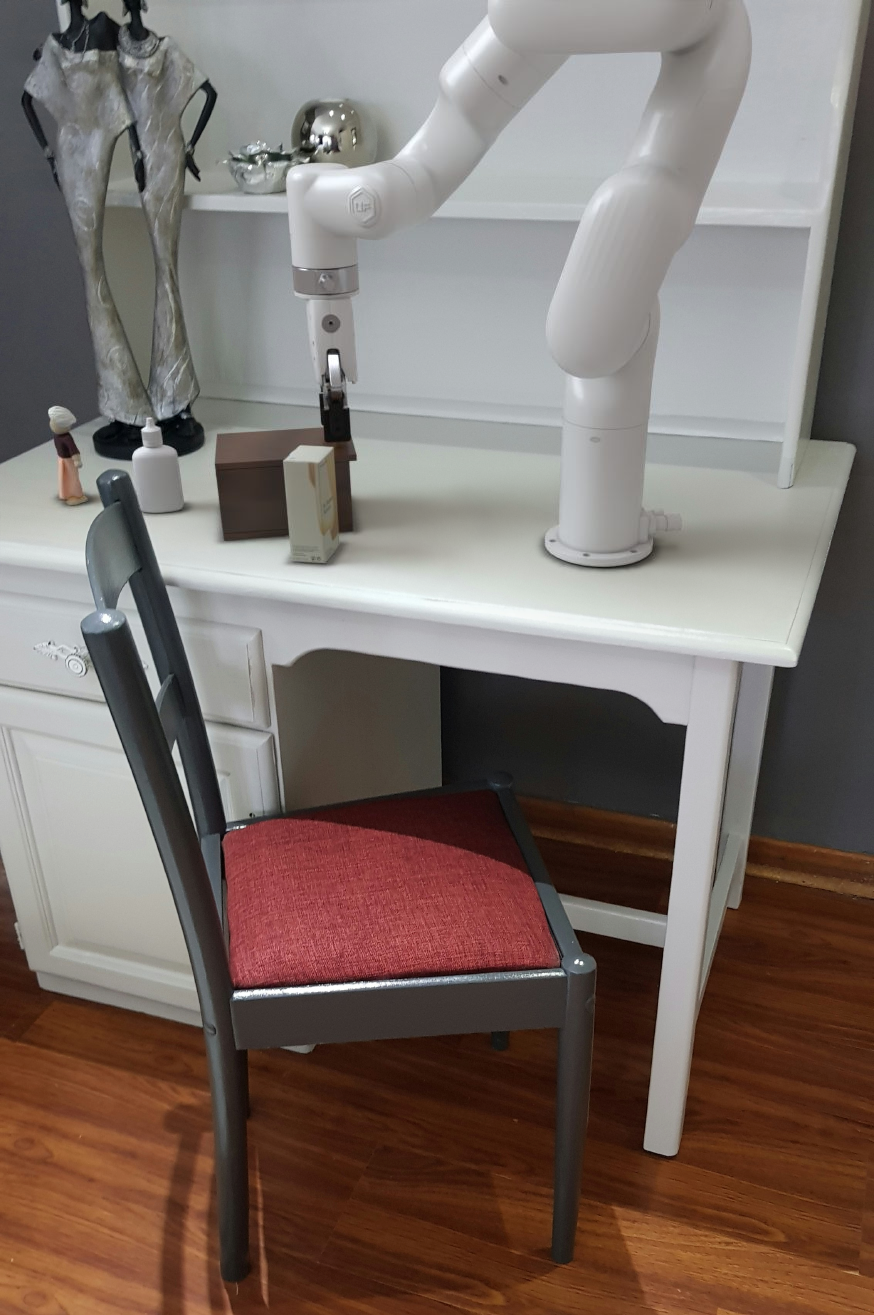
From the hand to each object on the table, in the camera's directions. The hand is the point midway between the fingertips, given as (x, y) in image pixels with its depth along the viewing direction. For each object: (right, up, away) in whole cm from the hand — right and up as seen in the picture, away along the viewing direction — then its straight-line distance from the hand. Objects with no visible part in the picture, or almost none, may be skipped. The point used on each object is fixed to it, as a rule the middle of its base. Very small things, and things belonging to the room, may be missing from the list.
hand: (335, 431), depth 137 cm
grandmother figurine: (-36, -7, +12) cm, 38 cm away
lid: (-6, -2, 0) cm, 7 cm away
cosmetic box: (-2, -16, -5) cm, 17 cm away
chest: (-7, -10, +4) cm, 13 cm away
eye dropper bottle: (-23, -9, +8) cm, 26 cm away
